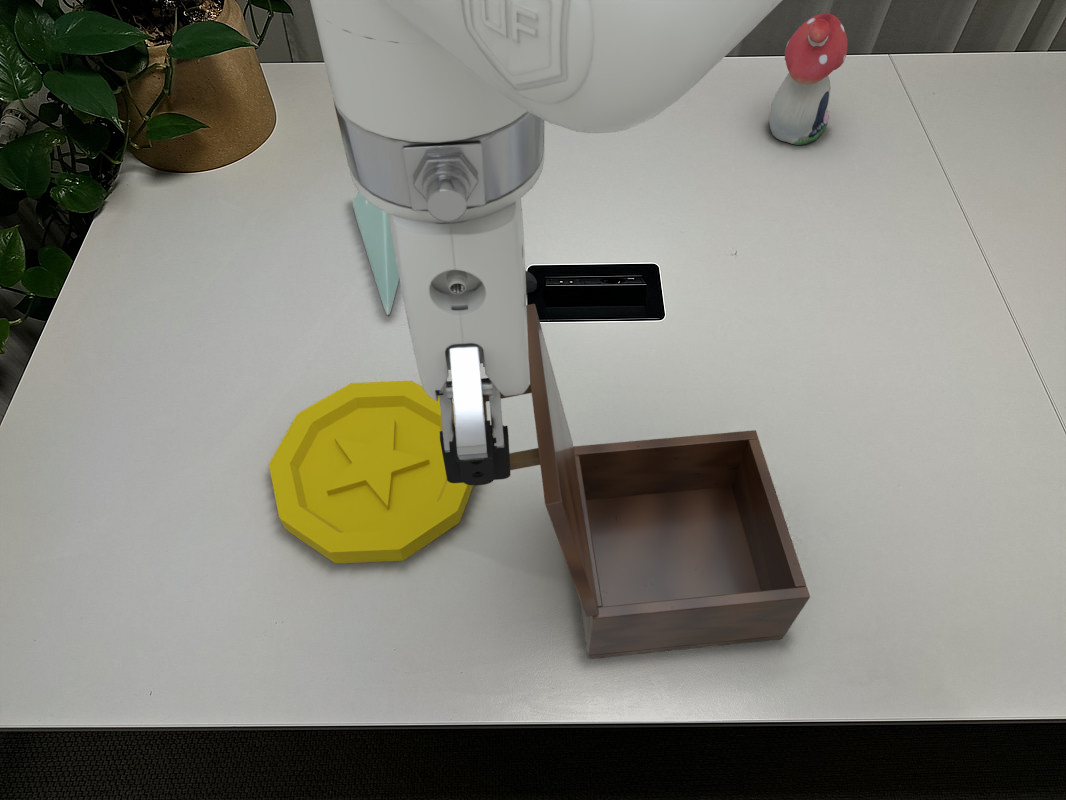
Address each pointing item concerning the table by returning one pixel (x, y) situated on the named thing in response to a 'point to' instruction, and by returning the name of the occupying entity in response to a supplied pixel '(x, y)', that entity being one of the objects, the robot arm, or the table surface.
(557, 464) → the lid
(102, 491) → the table surface
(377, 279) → the mint trowel blade
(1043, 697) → the table surface
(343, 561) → the decorative disc
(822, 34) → the decorative ornament
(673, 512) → the chest
